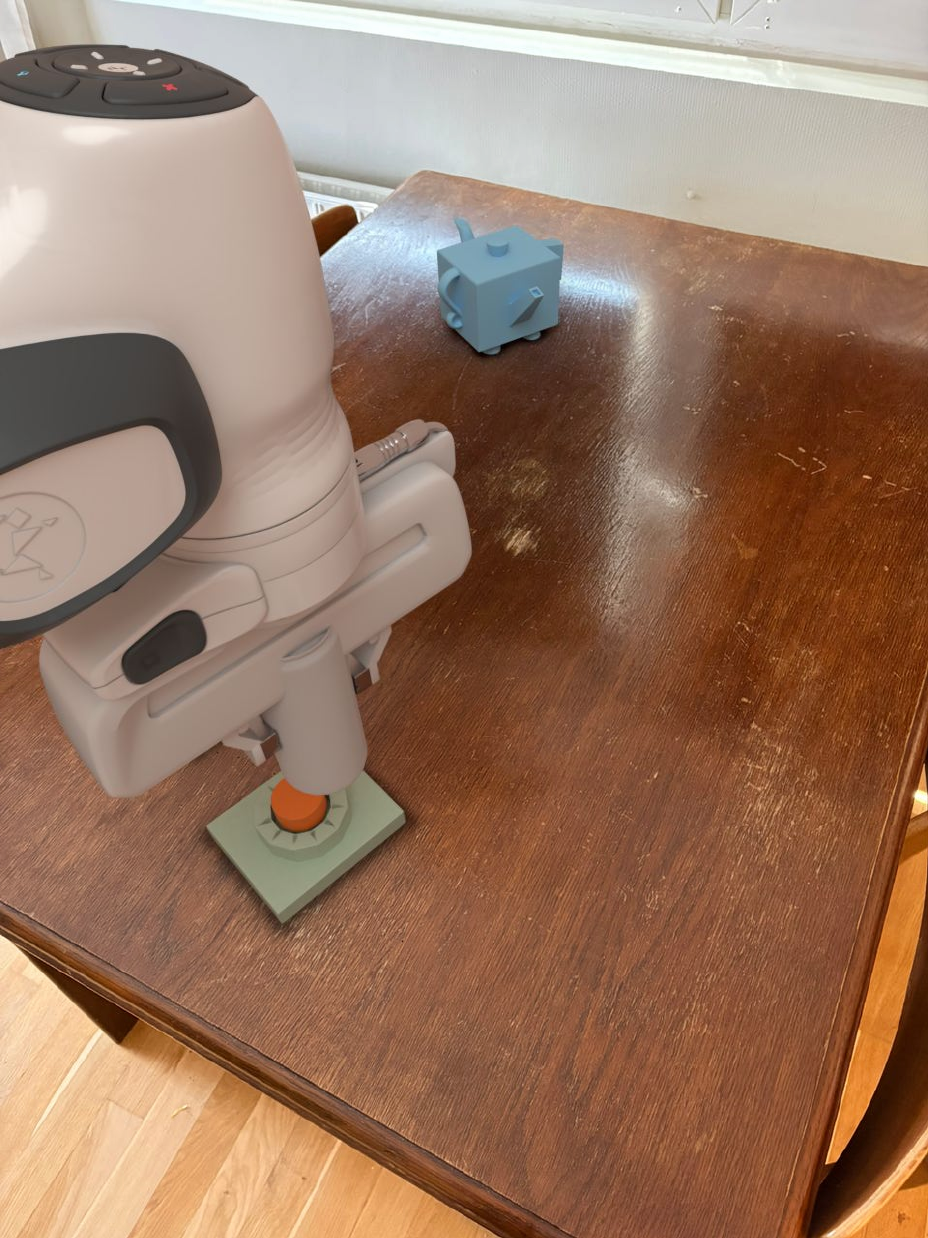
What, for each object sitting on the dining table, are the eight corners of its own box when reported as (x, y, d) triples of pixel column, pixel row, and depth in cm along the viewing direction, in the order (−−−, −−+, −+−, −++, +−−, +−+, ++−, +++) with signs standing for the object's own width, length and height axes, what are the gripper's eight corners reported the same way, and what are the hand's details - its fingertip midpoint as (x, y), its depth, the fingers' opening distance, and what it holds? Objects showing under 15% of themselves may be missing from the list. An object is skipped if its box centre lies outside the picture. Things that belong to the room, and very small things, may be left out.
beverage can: (264, 772, 49) (207, 631, 40) (322, 711, 51) (281, 566, 42) (330, 817, 47) (286, 679, 38) (387, 751, 50) (359, 608, 40)
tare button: (295, 842, 61) (290, 829, 60) (265, 808, 63) (260, 795, 62) (337, 809, 63) (333, 796, 61) (307, 776, 64) (302, 764, 63)
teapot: (478, 385, 100) (475, 291, 92) (406, 313, 111) (397, 223, 102) (596, 342, 105) (603, 249, 96) (515, 277, 115) (515, 188, 107)
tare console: (282, 925, 60) (272, 903, 58) (211, 837, 65) (198, 813, 62) (406, 822, 65) (402, 798, 62) (332, 747, 70) (324, 721, 67)
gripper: (403, 373, 41) (425, 579, 52) (-27, 604, 33) (103, 794, 43) (497, 433, 38) (501, 640, 49) (47, 707, 30) (169, 885, 40)
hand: (311, 715), depth 46 cm, fingers closed on beverage can, 5 cm apart
